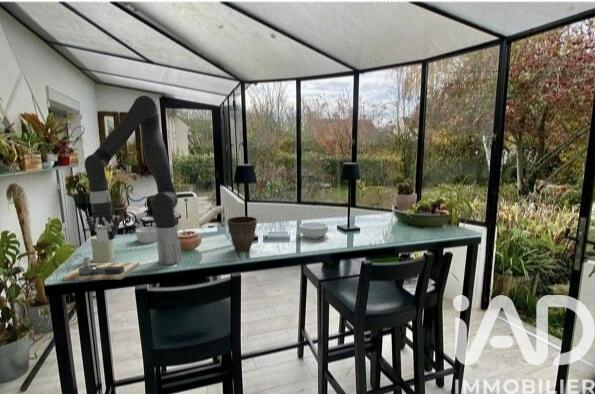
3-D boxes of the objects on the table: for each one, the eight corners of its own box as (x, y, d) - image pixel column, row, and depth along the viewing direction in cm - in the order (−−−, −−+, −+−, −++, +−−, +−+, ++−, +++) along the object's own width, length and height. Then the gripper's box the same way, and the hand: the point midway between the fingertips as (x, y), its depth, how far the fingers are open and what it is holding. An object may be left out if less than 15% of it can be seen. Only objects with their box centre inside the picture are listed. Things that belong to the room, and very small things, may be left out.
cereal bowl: (328, 241, 184) (329, 228, 183) (299, 241, 184) (299, 229, 183) (326, 233, 200) (326, 221, 199) (299, 233, 201) (299, 221, 200)
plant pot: (253, 243, 180) (252, 215, 177) (260, 251, 166) (259, 221, 164) (226, 247, 175) (225, 217, 172) (231, 255, 161) (229, 224, 158)
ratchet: (126, 269, 141) (125, 254, 140) (118, 275, 134) (117, 259, 133) (85, 270, 141) (83, 255, 139) (75, 276, 134) (73, 260, 133)
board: (139, 265, 149) (139, 262, 149) (121, 279, 134) (121, 276, 133) (87, 265, 149) (87, 263, 149) (62, 280, 134) (62, 277, 133)
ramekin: (161, 242, 184) (160, 230, 183) (135, 245, 179) (134, 233, 178) (161, 236, 196) (160, 225, 195) (137, 239, 192) (136, 227, 191)
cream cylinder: (118, 259, 158) (115, 235, 156) (96, 264, 151) (93, 239, 149) (111, 255, 164) (108, 231, 162) (90, 260, 157) (87, 235, 155)
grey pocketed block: (114, 238, 145) (112, 225, 144) (108, 241, 141) (106, 228, 140) (104, 238, 145) (102, 225, 144) (98, 241, 141) (96, 228, 140)
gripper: (122, 199, 144) (126, 236, 147) (89, 200, 144) (94, 237, 147) (112, 202, 137) (118, 241, 139) (78, 203, 137) (84, 242, 139)
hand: (106, 239), depth 143 cm, fingers closed on grey pocketed block, 4 cm apart
